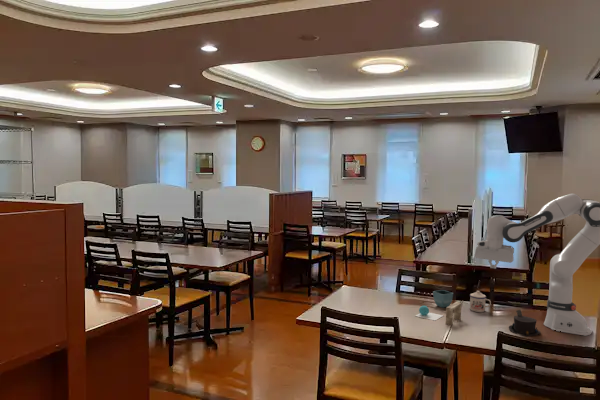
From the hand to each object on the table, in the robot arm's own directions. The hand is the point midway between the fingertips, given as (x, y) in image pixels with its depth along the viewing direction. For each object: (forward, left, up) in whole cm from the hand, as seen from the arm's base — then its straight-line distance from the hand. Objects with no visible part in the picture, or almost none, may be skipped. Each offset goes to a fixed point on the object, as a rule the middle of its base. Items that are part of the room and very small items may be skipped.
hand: (493, 268), depth 260 cm
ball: (+31, +21, -26) cm, 46 cm away
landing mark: (+28, +20, -29) cm, 45 cm away
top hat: (-20, +9, -30) cm, 37 cm away
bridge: (+14, +20, -29) cm, 38 cm away
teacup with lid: (+10, -12, -29) cm, 33 cm away
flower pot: (+30, -4, -29) cm, 42 cm away
